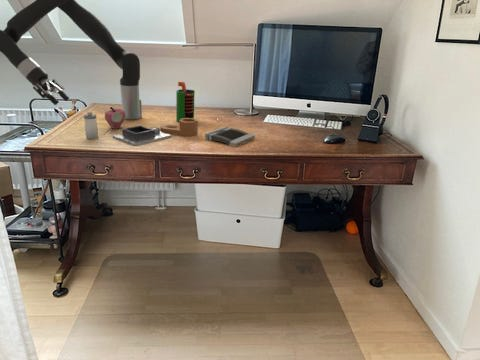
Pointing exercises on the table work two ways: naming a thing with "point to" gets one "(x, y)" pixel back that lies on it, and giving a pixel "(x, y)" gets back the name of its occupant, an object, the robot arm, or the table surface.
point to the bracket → (181, 128)
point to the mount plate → (141, 135)
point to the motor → (184, 102)
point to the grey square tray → (229, 136)
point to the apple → (115, 117)
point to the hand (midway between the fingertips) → (62, 101)
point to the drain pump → (91, 126)
